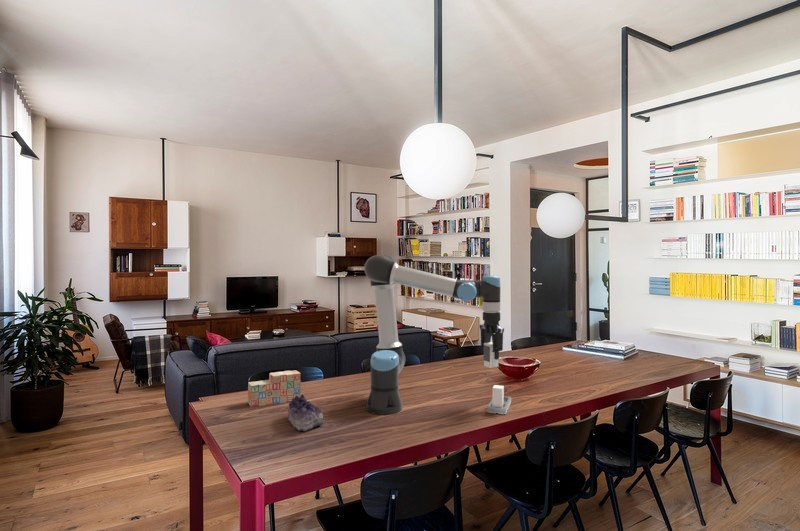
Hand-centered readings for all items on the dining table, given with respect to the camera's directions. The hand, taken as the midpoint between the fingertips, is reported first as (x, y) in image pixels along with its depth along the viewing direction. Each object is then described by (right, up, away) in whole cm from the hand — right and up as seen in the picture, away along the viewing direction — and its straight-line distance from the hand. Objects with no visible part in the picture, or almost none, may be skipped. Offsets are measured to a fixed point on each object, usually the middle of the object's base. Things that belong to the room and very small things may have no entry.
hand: (491, 365), depth 204 cm
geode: (-77, -18, -23) cm, 82 cm away
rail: (+3, -18, -1) cm, 18 cm away
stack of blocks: (-94, -17, +2) cm, 96 cm away
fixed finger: (+1, -18, -6) cm, 19 cm away
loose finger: (0, 0, 0) cm, 0 cm away
